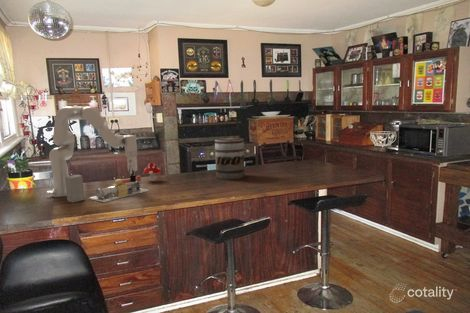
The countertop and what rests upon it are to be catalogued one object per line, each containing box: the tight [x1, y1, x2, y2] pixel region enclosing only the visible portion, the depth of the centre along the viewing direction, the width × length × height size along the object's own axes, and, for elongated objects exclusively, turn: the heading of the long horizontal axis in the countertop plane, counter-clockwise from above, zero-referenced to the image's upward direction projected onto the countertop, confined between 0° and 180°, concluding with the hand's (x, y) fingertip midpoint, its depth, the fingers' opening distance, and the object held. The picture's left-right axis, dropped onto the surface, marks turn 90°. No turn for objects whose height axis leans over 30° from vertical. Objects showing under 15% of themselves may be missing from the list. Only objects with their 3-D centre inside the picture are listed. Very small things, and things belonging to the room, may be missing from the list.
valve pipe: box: [88, 181, 149, 203], centre depth 234 cm, size 34×16×7 cm, turn 143°
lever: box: [114, 175, 142, 185], centre depth 237 cm, size 17×4×3 cm, turn 127°
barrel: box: [214, 137, 246, 181], centre depth 282 cm, size 22×22×30 cm
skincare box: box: [65, 174, 85, 204], centre depth 221 cm, size 8×7×16 cm
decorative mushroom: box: [142, 161, 162, 182], centre depth 274 cm, size 14×14×15 cm
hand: (133, 181), depth 237 cm, fingers closed
